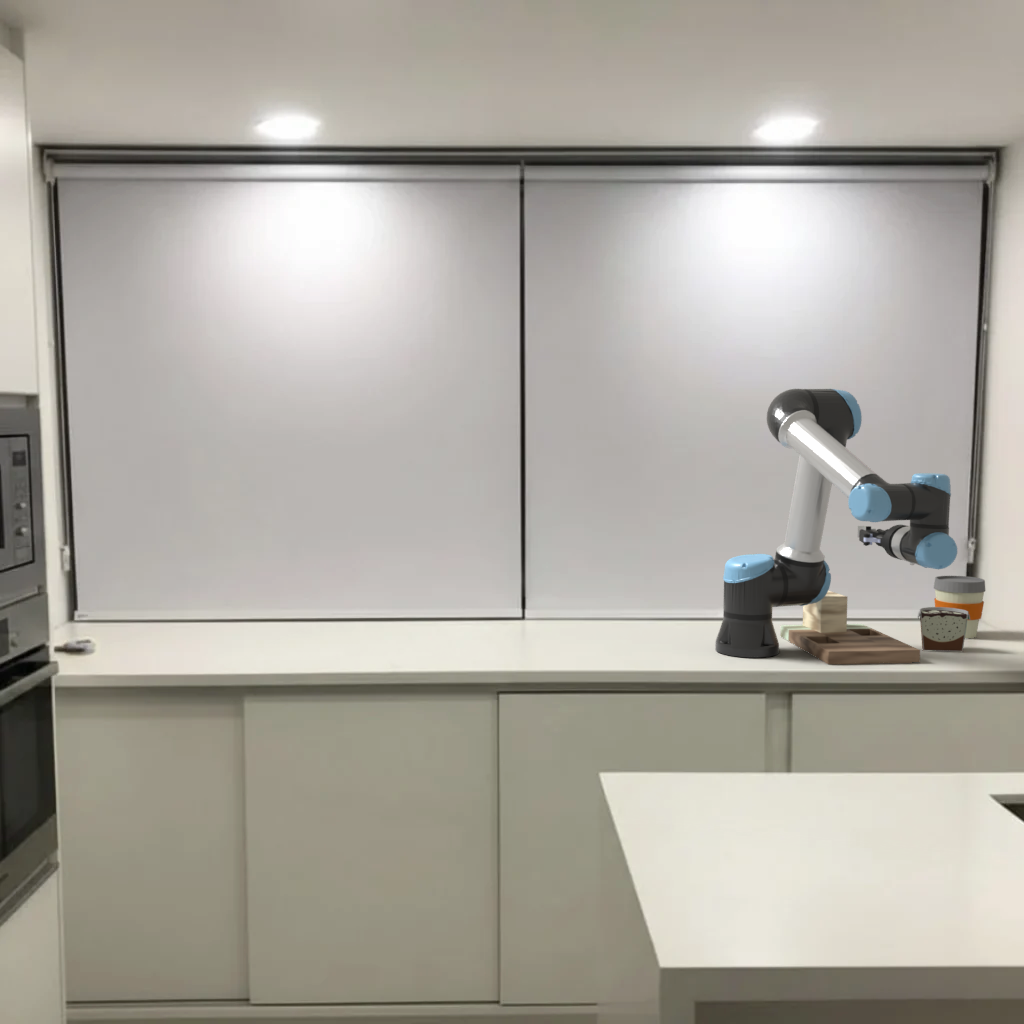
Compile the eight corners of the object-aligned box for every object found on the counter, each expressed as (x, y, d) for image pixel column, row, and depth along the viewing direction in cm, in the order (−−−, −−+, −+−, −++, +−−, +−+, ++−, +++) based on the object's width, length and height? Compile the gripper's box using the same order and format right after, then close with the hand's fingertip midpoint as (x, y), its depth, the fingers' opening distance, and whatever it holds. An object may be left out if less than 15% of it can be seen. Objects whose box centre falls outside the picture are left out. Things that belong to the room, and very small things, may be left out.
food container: (960, 646, 263) (962, 607, 262) (969, 651, 257) (970, 611, 256) (910, 645, 264) (911, 606, 263) (917, 650, 258) (918, 610, 257)
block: (846, 631, 266) (847, 596, 265) (820, 632, 264) (821, 597, 264) (827, 624, 276) (828, 590, 275) (802, 625, 274) (803, 591, 274)
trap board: (919, 662, 245) (920, 650, 245) (828, 664, 243) (828, 651, 243) (861, 635, 277) (861, 624, 276) (780, 636, 275) (780, 625, 274)
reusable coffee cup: (923, 634, 278) (925, 578, 276) (946, 628, 286) (948, 574, 284) (969, 642, 268) (972, 584, 267) (992, 635, 276) (994, 579, 275)
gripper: (877, 560, 227) (833, 547, 250) (934, 560, 228) (886, 546, 252) (878, 526, 226) (834, 515, 250) (936, 526, 228) (887, 515, 251)
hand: (860, 531), depth 251 cm, fingers closed
